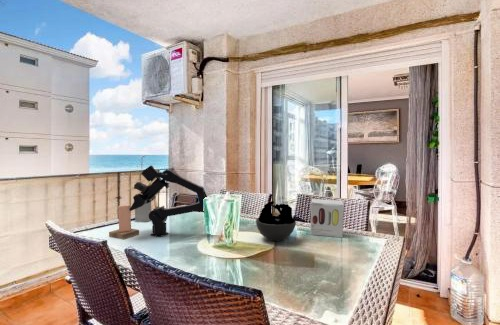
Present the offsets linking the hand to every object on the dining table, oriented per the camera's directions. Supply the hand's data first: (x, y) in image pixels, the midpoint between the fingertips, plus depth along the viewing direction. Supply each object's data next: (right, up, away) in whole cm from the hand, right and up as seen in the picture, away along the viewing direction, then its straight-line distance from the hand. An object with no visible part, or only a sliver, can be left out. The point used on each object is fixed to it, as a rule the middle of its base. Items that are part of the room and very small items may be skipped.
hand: (133, 208), depth 147 cm
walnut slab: (-4, -14, -2) cm, 15 cm away
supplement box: (+104, -16, +10) cm, 105 cm away
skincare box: (-7, -13, +31) cm, 34 cm away
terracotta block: (-3, -11, -2) cm, 12 cm away
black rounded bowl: (+74, -15, -5) cm, 76 cm away
